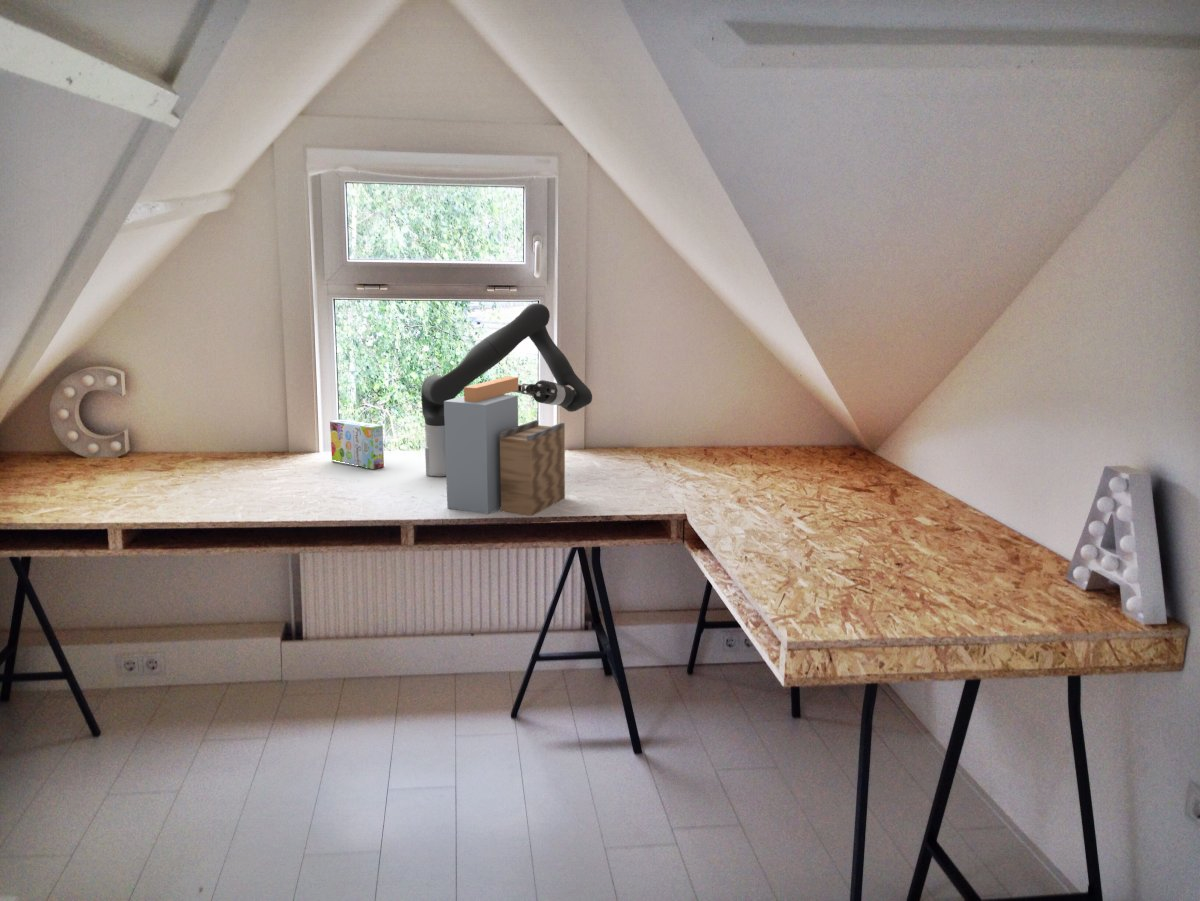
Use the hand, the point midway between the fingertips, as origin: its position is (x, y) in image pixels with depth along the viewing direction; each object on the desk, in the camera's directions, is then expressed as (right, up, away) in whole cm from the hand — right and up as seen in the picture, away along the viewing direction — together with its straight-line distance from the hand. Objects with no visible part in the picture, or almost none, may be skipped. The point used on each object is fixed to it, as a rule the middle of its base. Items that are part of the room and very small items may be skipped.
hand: (518, 386), depth 301 cm
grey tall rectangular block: (-9, -36, -18) cm, 41 cm away
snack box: (-59, -26, +30) cm, 71 cm away
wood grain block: (+6, -37, -19) cm, 42 cm away
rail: (-6, -4, -20) cm, 21 cm away
